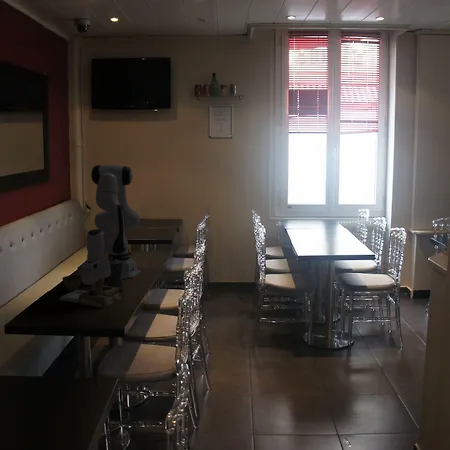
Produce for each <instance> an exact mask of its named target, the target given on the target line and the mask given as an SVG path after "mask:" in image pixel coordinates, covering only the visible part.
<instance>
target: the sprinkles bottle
mask: <svg viewBox="0 0 450 450" xmlns="http://www.w3.org/2000/svg"><path fill="white" fill-rule="evenodd" d="M101 278H102V274H100V275H99V281H97V282H95V287H97V288H96V289H97V290H96V291H93V294H94V296H97V295H99V294H101V293H102V279H101Z"/></svg>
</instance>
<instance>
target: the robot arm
mask: <svg viewBox="0 0 450 450" xmlns="http://www.w3.org/2000/svg"><path fill="white" fill-rule="evenodd" d="M90 177H91V182H93V184H94V185H97V186H96V192H95V203H96V205H97V207H99V209H101V210H102V211H101V212H98V213H96V215H95V217H94V220H93V221H94V225H95V226H96V229H91V230H89V231H87V234H86V251H87V255H86V260H85V261H84V262H83V263H81V265H80V266H81V269H82V270H81V276H82V279H81V283H82V284H83V285H85V286H90V287H91V289H92V291H96V290H97V289H96V288H97V287H95V282H97V281H99V275H100V274H102V278H101V279H102V287H103V286H104V283H105V279H106V278H107V279H108V278H109V276H110V275H111V269H110V264H109V261H110V259H113V257H116V258H115V260H120V261H123V265H122V273H121V277H122V280H124V279H133V278H135V277H137V276H138V275H139V274H141V272H142V271H141V270H140V269H138V267H137V263H136V262H135V261H134V260H133V259H132V258H131V256H132V255H133V252H132V251H129V241H128V238H127V231H126V230H132V229H136V228H138V226H139V224H140V222H141V217H140V215H139V213H138V212H137V211H136V210H134V209H133V208H132V207H130V205H129V203H128V199H127V189H126V188H127V187H126V186H128V185H130V184H131V183H132V180H133V171H132V168H130V167H129V166H125V165H124V166H122V165H117V164H110V165H109V164H106V165H101V164H100V165H99V164H98V165H94V166H93V167H92V169H91V172H90ZM106 254H108V255H107V257H108V258H106Z"/></svg>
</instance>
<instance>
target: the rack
mask: <svg viewBox="0 0 450 450" xmlns="http://www.w3.org/2000/svg"><path fill="white" fill-rule="evenodd" d="M112 288H117V289H119V293H118V294H116V295H114V296H112V297H110V298H108V299H106V300H105V297H100V296H101V295H102V293H101V294H99V295H97V296H94V294H93V291H92V288H91V289H89V290H86V291H87V292H84V293H82V294H80V295H79V302H78V303H79V306H80V305H81V306H88V307H94V308H95V307H96V308H103V309H104V308H107V307H108V306H110V305H112V304H114V303H115V302H118V301H120V300H121V299H122V300H123V298H124V295H125V294H124V288H118V287H108V286H105V285H103V287H102V292H103V291H105V290H110V289H112Z"/></svg>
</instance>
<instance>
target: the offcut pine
mask: <svg viewBox="0 0 450 450" xmlns="http://www.w3.org/2000/svg"><path fill="white" fill-rule="evenodd" d="M102 296H108V298H110V297H112V296H113V293H112V291H110V290H105V291H103V292H102Z"/></svg>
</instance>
